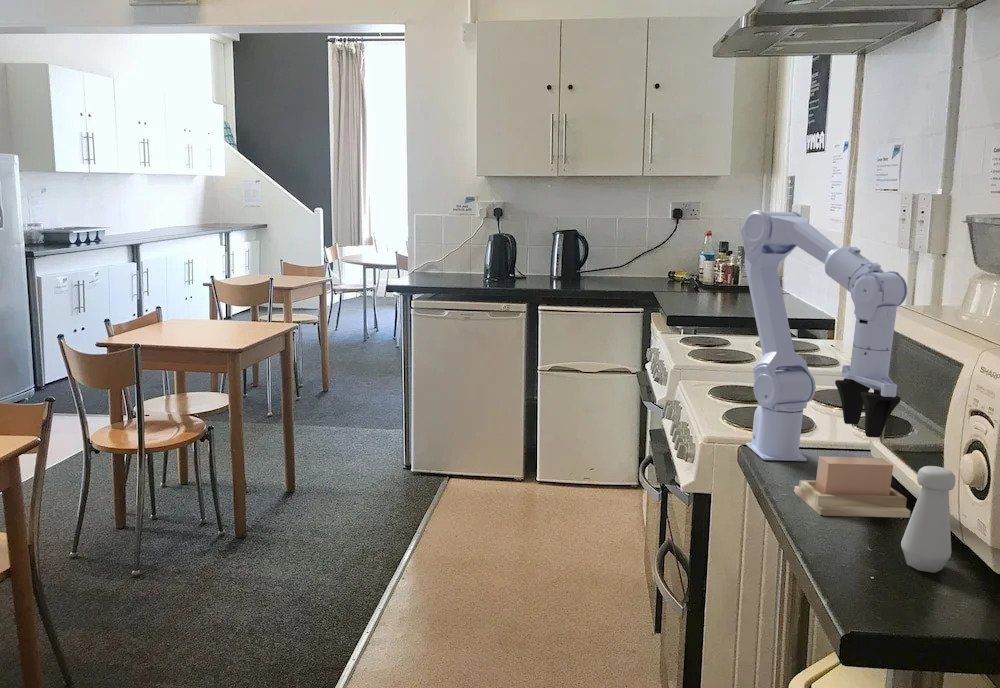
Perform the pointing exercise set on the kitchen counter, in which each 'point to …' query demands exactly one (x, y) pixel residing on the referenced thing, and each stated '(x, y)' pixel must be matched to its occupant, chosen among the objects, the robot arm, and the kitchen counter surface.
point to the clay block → (853, 476)
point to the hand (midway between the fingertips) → (861, 430)
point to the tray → (852, 503)
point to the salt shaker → (930, 521)
